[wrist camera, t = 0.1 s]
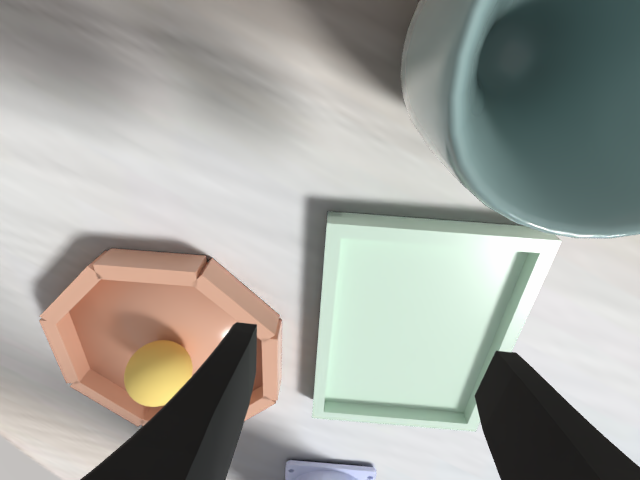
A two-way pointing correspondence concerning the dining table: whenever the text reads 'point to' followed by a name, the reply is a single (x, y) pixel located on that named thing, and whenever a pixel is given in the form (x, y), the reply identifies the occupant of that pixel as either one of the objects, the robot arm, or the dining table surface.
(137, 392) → the ball
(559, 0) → the cup
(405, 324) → the tray
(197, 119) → the dining table surface
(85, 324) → the dish
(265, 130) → the dining table surface
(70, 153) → the dining table surface
